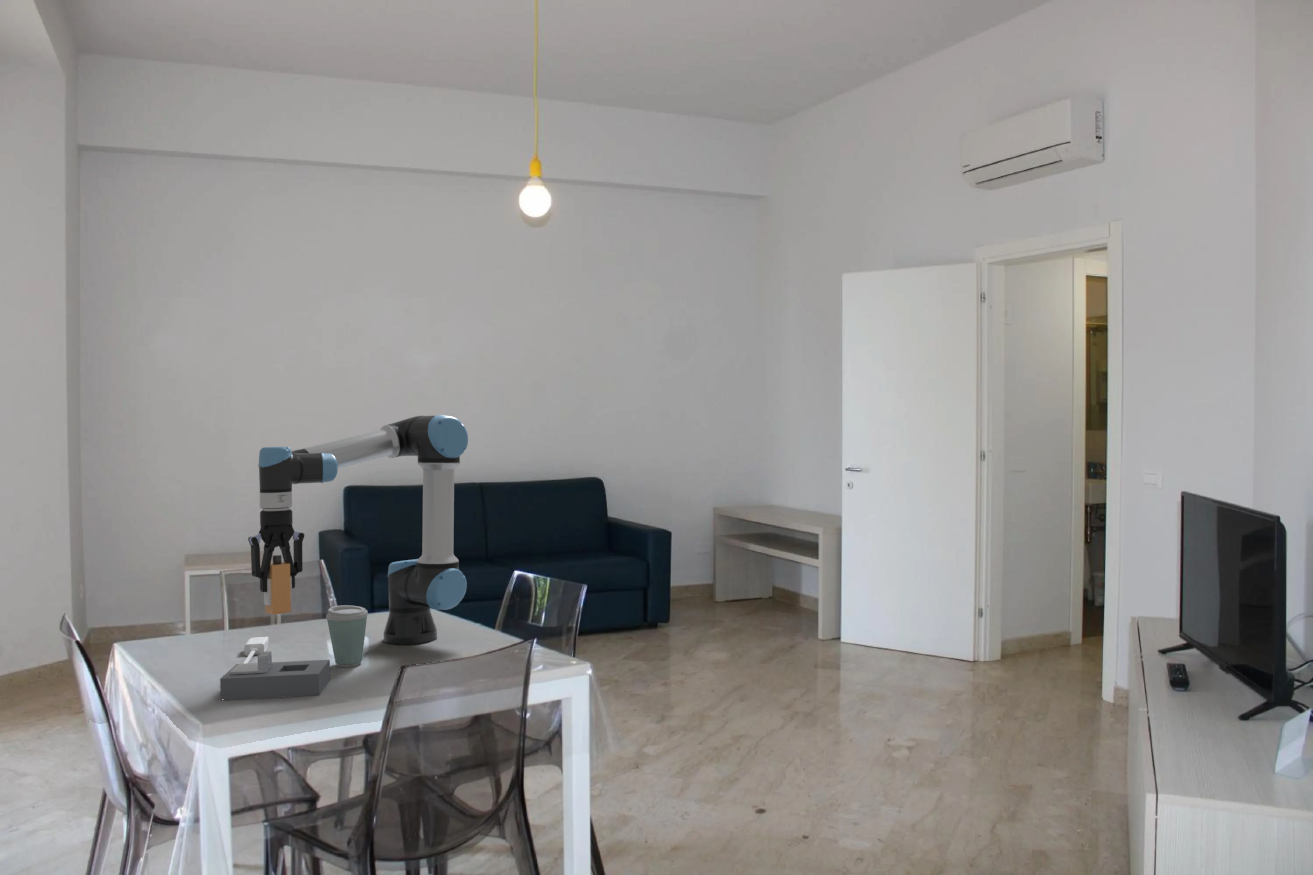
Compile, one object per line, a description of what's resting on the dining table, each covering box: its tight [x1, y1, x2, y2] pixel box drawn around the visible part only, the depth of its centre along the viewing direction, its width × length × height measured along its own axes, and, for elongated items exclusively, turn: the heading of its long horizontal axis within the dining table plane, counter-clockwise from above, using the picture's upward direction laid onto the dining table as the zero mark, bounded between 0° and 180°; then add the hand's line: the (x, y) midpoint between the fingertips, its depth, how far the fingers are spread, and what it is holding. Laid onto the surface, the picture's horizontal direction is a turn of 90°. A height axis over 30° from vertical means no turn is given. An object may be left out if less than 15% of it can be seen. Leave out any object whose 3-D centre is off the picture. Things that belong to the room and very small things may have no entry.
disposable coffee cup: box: [325, 604, 368, 668], centre depth 270 cm, size 11×11×15 cm
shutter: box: [230, 650, 273, 675], centre depth 246 cm, size 8×8×4 cm
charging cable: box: [242, 636, 270, 664], centre depth 278 cm, size 5×32×3 cm, turn 12°
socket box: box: [219, 659, 331, 701], centre depth 247 cm, size 22×14×5 cm, turn 98°
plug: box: [264, 554, 292, 615], centre depth 255 cm, size 4×4×14 cm
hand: (278, 603), depth 255 cm, fingers closed on plug, 4 cm apart
